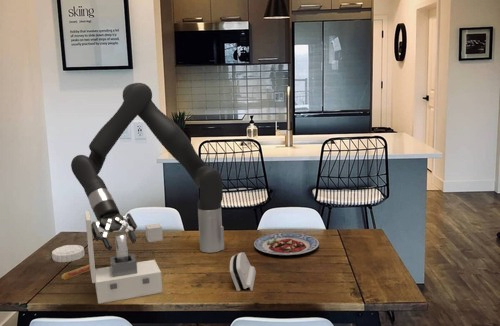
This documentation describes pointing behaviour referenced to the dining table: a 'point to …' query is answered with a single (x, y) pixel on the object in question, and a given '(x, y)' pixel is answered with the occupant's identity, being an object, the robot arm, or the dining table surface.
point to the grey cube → (153, 232)
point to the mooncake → (68, 253)
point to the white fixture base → (122, 277)
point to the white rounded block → (242, 272)
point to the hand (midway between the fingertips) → (122, 245)
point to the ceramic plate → (286, 243)
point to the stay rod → (121, 247)
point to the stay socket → (123, 266)
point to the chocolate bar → (75, 272)
